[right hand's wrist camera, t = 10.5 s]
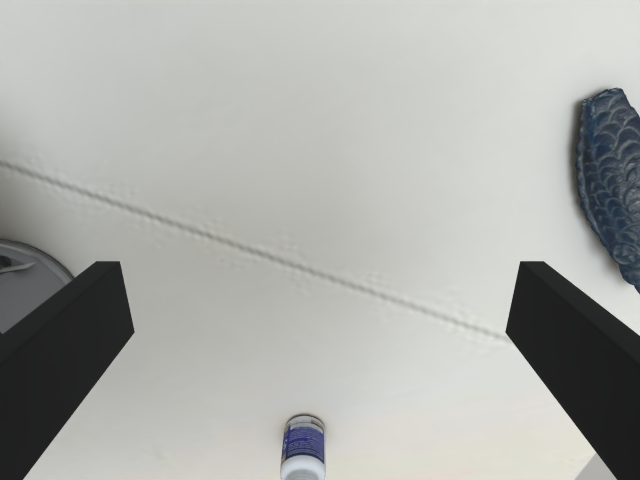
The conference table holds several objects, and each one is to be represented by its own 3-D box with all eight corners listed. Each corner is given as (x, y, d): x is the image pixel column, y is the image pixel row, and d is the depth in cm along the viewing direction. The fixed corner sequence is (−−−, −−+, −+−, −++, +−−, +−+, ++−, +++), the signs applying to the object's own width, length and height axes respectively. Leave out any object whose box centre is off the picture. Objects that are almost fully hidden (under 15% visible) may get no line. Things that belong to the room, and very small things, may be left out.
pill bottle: (279, 418, 49) (271, 485, 40) (320, 411, 48) (320, 478, 40) (290, 448, 51) (284, 518, 42) (329, 441, 50) (331, 511, 42)
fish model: (598, 294, 42) (633, 319, 37) (548, 113, 35) (583, 116, 31) (661, 269, 41) (705, 291, 36) (622, 77, 34) (670, 75, 30)
